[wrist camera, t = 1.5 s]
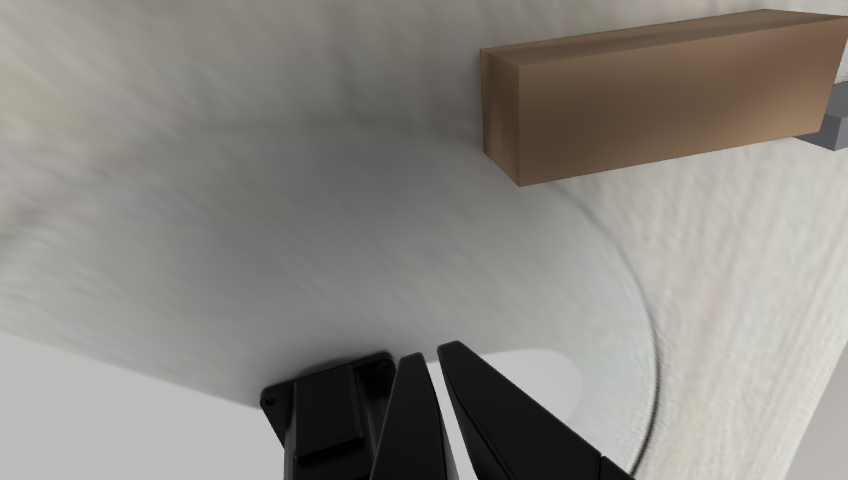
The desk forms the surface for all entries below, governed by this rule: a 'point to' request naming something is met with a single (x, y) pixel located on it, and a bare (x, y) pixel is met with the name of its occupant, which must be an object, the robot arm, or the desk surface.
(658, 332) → the desk surface
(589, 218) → the desk surface
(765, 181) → the desk surface
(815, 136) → the end cap
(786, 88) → the brown wooden block
